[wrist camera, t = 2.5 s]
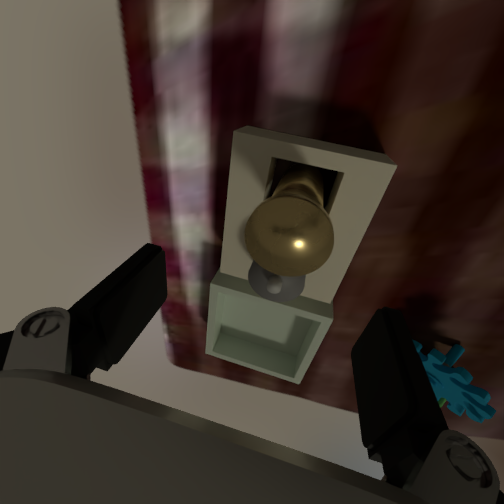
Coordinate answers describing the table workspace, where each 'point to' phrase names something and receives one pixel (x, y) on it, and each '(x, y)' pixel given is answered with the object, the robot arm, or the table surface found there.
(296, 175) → the pin
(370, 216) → the beige boxy piece
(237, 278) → the tray
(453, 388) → the teal lobed piece
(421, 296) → the table surface
